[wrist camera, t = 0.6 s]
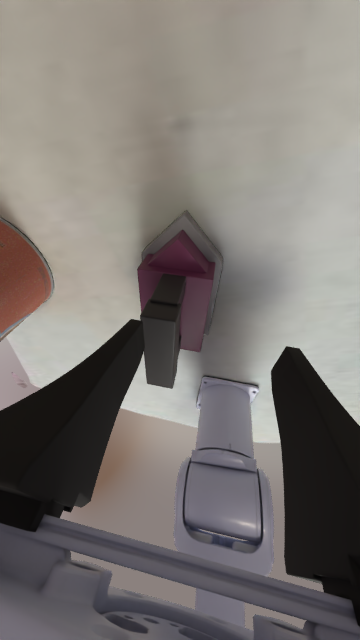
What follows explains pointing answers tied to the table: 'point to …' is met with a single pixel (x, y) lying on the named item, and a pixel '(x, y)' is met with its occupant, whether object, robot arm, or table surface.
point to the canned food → (20, 278)
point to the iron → (176, 296)
